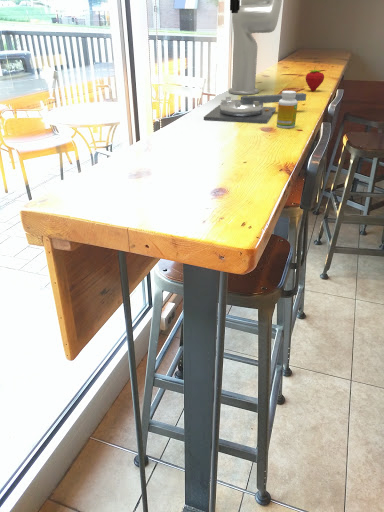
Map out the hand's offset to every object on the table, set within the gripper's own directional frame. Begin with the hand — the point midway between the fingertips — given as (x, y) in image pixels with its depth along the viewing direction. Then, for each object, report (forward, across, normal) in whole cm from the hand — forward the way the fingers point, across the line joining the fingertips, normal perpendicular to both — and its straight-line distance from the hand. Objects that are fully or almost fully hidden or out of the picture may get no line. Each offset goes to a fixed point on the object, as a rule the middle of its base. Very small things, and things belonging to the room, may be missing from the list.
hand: (234, 12), depth 140 cm
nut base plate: (+29, -8, +21) cm, 37 cm away
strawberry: (+29, -28, -31) cm, 51 cm away
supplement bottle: (+29, -24, +33) cm, 50 cm away
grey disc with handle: (+28, -14, +17) cm, 36 cm away
